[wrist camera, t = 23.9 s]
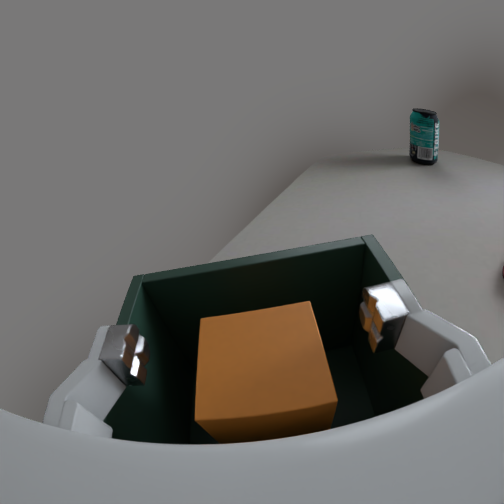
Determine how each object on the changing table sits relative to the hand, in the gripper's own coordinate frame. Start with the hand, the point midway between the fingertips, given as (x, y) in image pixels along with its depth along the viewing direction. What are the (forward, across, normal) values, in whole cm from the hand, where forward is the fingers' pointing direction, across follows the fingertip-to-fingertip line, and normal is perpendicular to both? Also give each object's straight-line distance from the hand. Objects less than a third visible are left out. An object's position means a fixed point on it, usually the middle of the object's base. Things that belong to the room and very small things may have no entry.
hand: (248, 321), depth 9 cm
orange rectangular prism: (-1, 0, +12) cm, 12 cm away
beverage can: (+46, -41, +13) cm, 63 cm away
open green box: (-1, 0, +13) cm, 13 cm away
